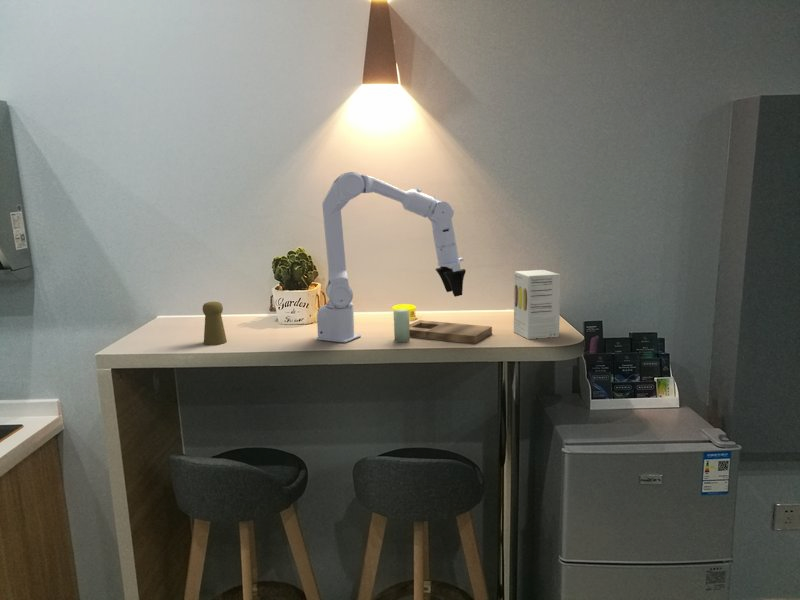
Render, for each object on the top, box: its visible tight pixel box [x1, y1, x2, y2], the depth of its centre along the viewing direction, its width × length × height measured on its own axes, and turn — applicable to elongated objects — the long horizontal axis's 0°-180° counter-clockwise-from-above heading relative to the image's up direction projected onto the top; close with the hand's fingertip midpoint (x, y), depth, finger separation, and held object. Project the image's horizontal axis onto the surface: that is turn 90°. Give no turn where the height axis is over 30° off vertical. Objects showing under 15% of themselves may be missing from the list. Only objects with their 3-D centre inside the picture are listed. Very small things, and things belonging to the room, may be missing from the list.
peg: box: [393, 308, 411, 343], centre depth 168 cm, size 4×4×8 cm
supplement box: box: [513, 269, 562, 340], centre depth 170 cm, size 10×9×17 cm
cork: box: [202, 301, 227, 346], centre depth 170 cm, size 6×6×11 cm
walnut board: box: [409, 319, 493, 345], centre depth 173 cm, size 22×12×2 cm, turn 61°
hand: (454, 293), depth 176 cm, fingers open, 7 cm apart
